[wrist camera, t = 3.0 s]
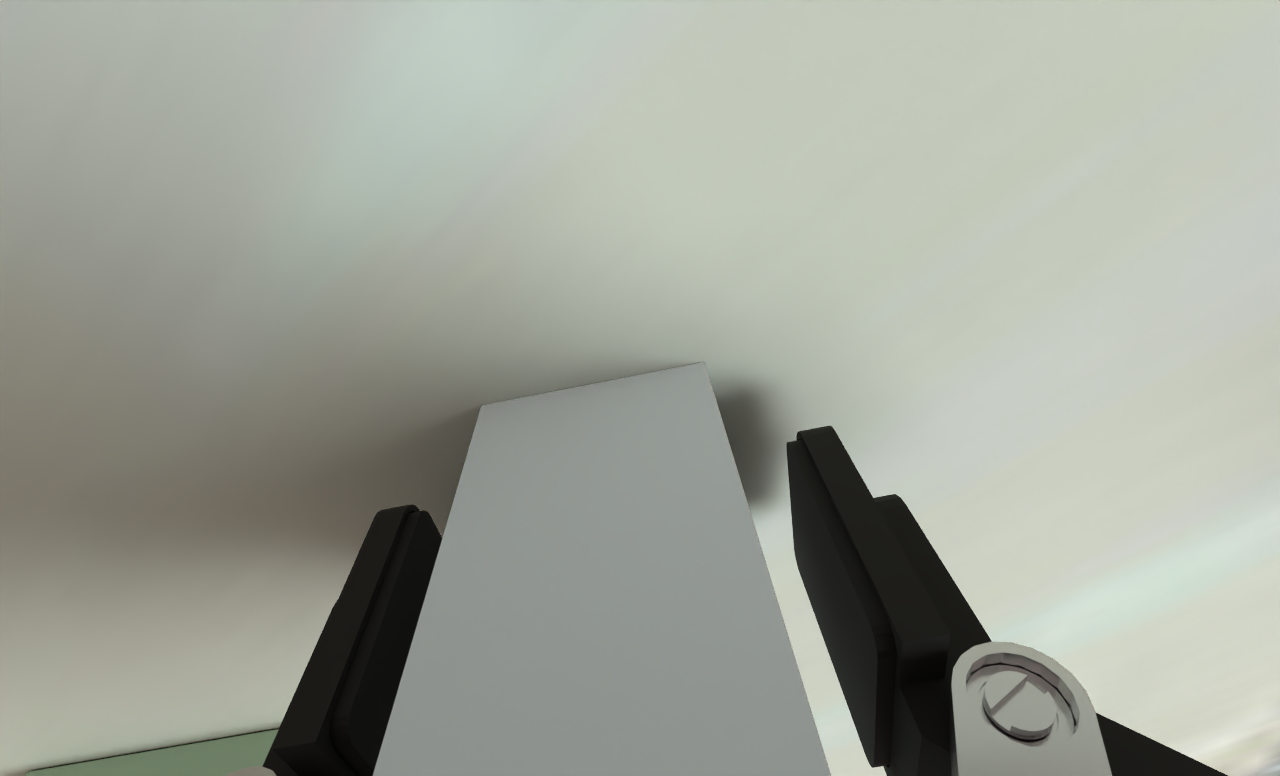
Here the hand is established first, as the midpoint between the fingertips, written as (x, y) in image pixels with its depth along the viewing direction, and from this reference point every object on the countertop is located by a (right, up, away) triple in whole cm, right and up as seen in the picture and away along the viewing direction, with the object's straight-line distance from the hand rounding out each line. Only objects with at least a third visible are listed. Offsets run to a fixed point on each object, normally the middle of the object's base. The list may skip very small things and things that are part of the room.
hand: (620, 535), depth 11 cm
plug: (0, +1, +1) cm, 1 cm away
